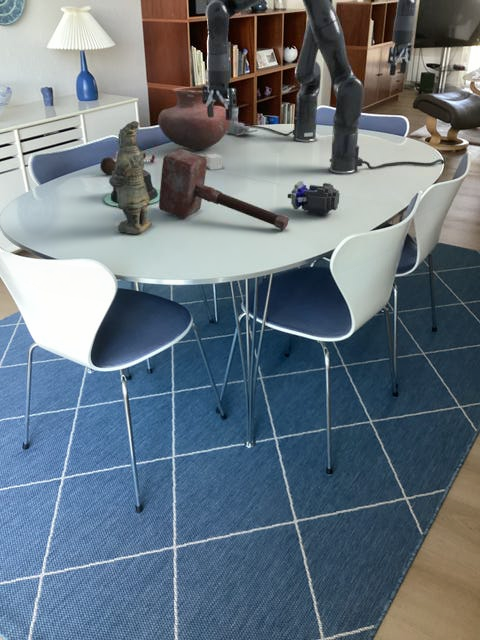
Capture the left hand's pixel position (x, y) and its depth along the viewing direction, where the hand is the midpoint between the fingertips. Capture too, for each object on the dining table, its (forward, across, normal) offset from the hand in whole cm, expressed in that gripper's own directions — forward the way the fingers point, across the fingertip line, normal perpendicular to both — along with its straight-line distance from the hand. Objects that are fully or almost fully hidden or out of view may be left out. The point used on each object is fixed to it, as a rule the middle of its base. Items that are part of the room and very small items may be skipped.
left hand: (397, 74), depth 224 cm
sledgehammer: (+30, +109, +6) cm, 113 cm away
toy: (+29, +87, +22) cm, 94 cm away
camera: (+31, +18, -69) cm, 78 cm away
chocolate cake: (+30, +112, -33) cm, 120 cm away
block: (+30, +68, -38) cm, 84 cm away
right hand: (+10, +75, -28) cm, 81 cm away
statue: (+30, +130, -10) cm, 134 cm away
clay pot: (+31, +51, -65) cm, 89 cm away
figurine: (+31, +90, -64) cm, 115 cm away
